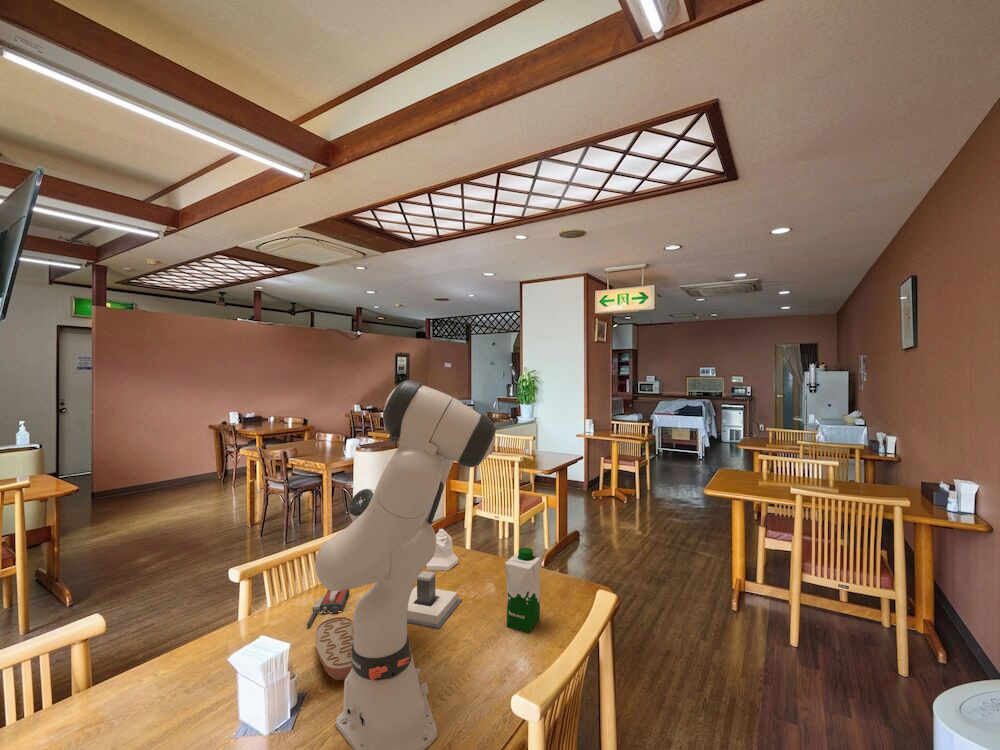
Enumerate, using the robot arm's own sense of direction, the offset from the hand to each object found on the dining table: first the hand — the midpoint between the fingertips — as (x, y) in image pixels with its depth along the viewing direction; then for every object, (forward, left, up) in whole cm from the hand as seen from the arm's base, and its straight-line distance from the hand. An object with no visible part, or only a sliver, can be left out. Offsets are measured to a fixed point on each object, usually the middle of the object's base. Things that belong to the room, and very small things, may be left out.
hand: (403, 553), depth 132 cm
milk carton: (-21, -27, -19) cm, 39 cm away
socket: (+1, -7, -19) cm, 20 cm away
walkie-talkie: (+18, +17, -20) cm, 31 cm away
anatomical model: (-8, +20, -19) cm, 29 cm away
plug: (+1, -7, -18) cm, 20 cm away
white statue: (+28, -25, -19) cm, 42 cm away
